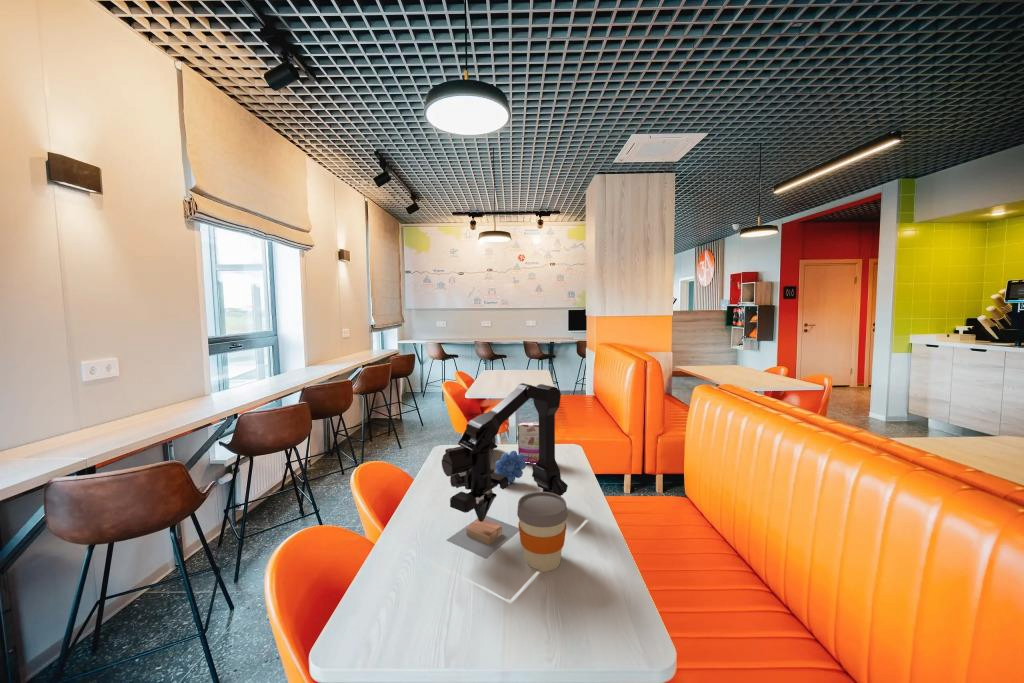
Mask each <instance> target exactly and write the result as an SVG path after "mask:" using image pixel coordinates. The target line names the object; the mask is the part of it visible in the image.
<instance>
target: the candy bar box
mask: <svg viewBox="0 0 1024 683" xmlns="http://www.w3.org/2000/svg"><path fill="white" fill-rule="evenodd" d="M517 440H518V441H517V442H518V443H517V447H518V448H517V449H518V451H517V455H518V454H522V455H523V456H524V459H523V461H524V462H530V463H537V461H538V460H539V421H538V422H537V421H535V422H534V421H519V422H518V424H517Z"/></svg>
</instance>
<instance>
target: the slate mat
mask: <svg viewBox="0 0 1024 683" xmlns="http://www.w3.org/2000/svg"><path fill="white" fill-rule="evenodd" d="M476 520H478V518H476V519H474V520H473V521H472V522H470V523H469V524H468V525H466V526H465V527H463V528H462V529H460V530H459V531H457V532H456V533H455V534H453V535H452V536H450V537H449V538H447V539H446V541H447V542H449V543H452V545H453V544H454V545H456V546H458V547H460V548H462V549H464V550H466V551H469V552H471V553H473V554H475V555H478V556H479V557H482V558H484V559H487V558H489V557H490V556H491V555H492V554H493V553H494V552H495V553H496V551H497V550H498V549H499V548H500V547H502V546H503V545H505V543H507V542H508V541H509V540H511V539H512V538H513V536H515V535H516V534H517V533H519V526H515V525H512V524H509V523H507V522H504V521H501V520H499V519H496V518H494V517H491V516H490V515H486V517H485V519H484V520H487V521H490V522H492V523H495V524H497V525H500V526H502V535H500V536H499V537H498V538H497V539H495V540H494V541H493V542H492V543H490V544H489V545H488V544H486V543H484V542H481V541H479V540H477V539H474V538H472V537H470V536H467V535H466V527H468V526H469V525H471V524H472V523H473V522H475V521H476Z"/></svg>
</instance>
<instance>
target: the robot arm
mask: <svg viewBox="0 0 1024 683" xmlns="http://www.w3.org/2000/svg"><path fill="white" fill-rule="evenodd" d="M530 399H532V401H533V405H534V407H535V409H536V411H537V413H538V422H539V460H538V461H537V463H536V464H531V465H532V466H531V468H532V474H531V477H532V478H533V481H534V482H535V483H536V485H537V487H538V488H541V489H542V492H549V493H554V494H557V495H559V496H561V497H562V496H563V495H564V494H565V493H567V490H568V488H569V487H568V486H569V485H568V484H567V483H566V482H565V481H564V480H563V479H562V476H561V475H562V474H561V469H560V466H559V465H558V463H557V461H556V432H555V431H556V429H555V428H556V424H555V423H556V420H555V419H556V417H555V416H556V413H557V411H558V409H559V408H560V404H561V390H559V388H558V387H556V386H553V385H552V386H551V385H547V384H544V383H541V384H540V383H539V384H537V385H536V386H535V385H532V384H528V383H518V384H517V386H516V388H514V390H512V391H511V392H510V393H509V394H508V395H506V397H504V398H503V399H502V400H501V401H500V402H499V403H497V404H496V405H495V406H494V407H493V408H492V409H490V410H488V411H487V412H485V413H481V414H479V415H478V416H477V415H476V416H475V417H474V418H472V419H470V420H469V421H468V423H466V426H465V427H466V428H465V430H464V432H463V433H462V435H461V437H460V439H459V441H458V442H457V445H458V446H457V447H451V448H446V449H445V450H444V451H445V453H444V454H443V455H442V459H441V467H442V468H441V469H442V471H443V473H444V475H446V477H450V480H449V481H450V485H451V487H452V488H456V489H458V488H462V487H464V490H470V491H469V492H464V491H460V492H457V493H456V494H454V495H452V496H451V497H450V498H449V507H450V508H452V509H454V510H457V511H459V512H462V513H464V514H465V513H469V512H471V511H473V510H474V512H475V515H476V517H477V519H478V520H479V521H480V522H482V521H484V519H485V517H486V516H487V515H488V512H489V510H490V508H491V506H492V504H493V502H494V500H495V498H496V497H497V494H496V493H494V490H493V489H495V488H496V487H498V485H499V488H500V489H501V490H505V489H507V488H508V487H509V486H510V485H509V484H510V483H509V480H508V479H507V477H506V476H503V475H500V474H497V473H495V469H494V468H492V463H491V462H492V461H491V457H492V455H491V449H497V448H498V445H497V444H496V443H495V444H494V443H493V441H492V440H493V438H494V437H495V438H496V436H497V435H498V433H499V431H500V427H501V426H502V425H503V424H504V422H505V421H506V420H508V419H509V418H510V417H511V416H512V415H513V414H515V412H517V411H518V410H519V409H520V408H521V407H522V406H523V405H524V404H526V403H527V401H529V400H530ZM471 441H472V442H471ZM473 441H474V442H475V443H473Z"/></svg>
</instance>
